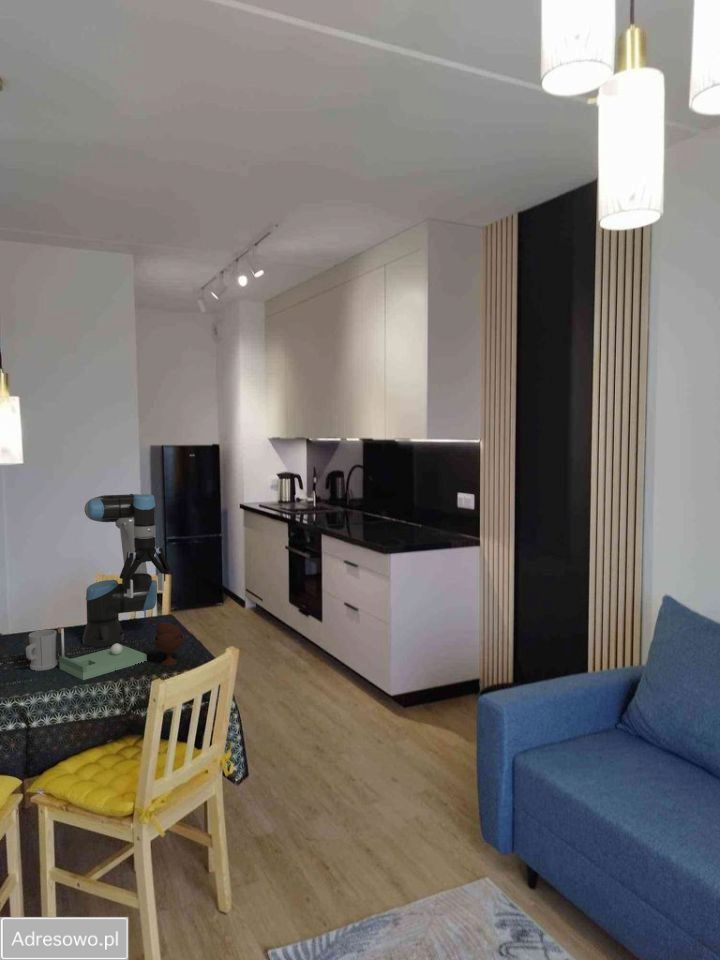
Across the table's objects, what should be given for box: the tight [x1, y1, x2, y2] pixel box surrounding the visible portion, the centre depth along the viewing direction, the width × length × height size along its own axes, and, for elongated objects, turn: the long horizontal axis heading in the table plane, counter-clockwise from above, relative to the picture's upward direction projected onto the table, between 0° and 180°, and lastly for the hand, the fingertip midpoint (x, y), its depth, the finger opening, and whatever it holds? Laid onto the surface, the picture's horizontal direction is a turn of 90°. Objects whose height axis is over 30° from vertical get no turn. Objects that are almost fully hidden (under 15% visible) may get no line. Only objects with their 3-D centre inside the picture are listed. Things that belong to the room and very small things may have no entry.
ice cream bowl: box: [152, 621, 186, 667], centre depth 240 cm, size 11×11×15 cm
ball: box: [110, 643, 123, 655], centre depth 242 cm, size 4×4×4 cm
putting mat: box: [57, 626, 148, 681], centre depth 238 cm, size 17×24×14 cm
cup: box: [25, 629, 58, 672], centre depth 235 cm, size 10×9×12 cm
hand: (145, 593), depth 250 cm, fingers open, 12 cm apart
